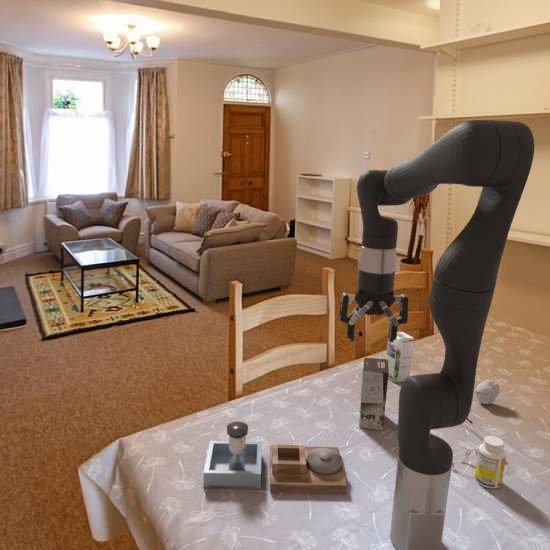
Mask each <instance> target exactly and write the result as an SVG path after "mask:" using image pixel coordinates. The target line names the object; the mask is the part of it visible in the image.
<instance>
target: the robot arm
mask: <svg viewBox="0 0 550 550" xmlns="http://www.w3.org/2000/svg"><path fill="white" fill-rule="evenodd" d="M534 155H535V138H534V134H533V131H532V130H531V128H530V127H529V125H527V124H525V123H524V122H521V121H513V120H497V119H496V120H495V119H494V120H493V119H468V120H465V121H463V122H461V123H459V124H457V125H455V126H454V127H453V128H451V129H450V130H448V131H447V132H446V133H444V134H443V135H442V136H441V137H440V138H439V139H437V140H435V142H433V143H432V144H431V145H430V146H428V147H426V148H425V149H424V150H422V151H421V152H419V153H418V154H416V155H414V156H412V157H409V158H407V159H404V160H401V161H399V162H397V163H395V164H394V165H392V166H391V167H390V168H389V169H385V170H384V169H367V170H365V171H364V172H362V173H361V175H359V178H358V179H357V183H356V192H357V199H358V202H359V208H360V214H361V219H362V235H361V249H360V253H359V260H358V277H357V285H356V286H357V288H356V292H355V294H354V293H352V294H351V293H348V292H345V291H343V292H342V293H341V297H340V298H341V299H340V305H339V313H338V317H339V320H340V322H341V323H345V324H346V337H347V339H349V342H355V331H356V330H355V328H356V326H355V323H356V322H357V321H358V320H359V319H361V318H362V317H363V316H364V315H366V316H372V315H376V316H382V315H384V314H385V315H386V316H387V318H388V320H389V321H390V322H389V324H388V334H387V335H388V337H387V341H388V340H389V342H394V340H396V338H397V332H398V327H399V326H400V325H402V324H405V325H406V324H407V323H408V320H409V319H408V318H409V297H408V296H407V295H406V294H405V293H400V294H399V295H397V294H395V293H394V292H395V291H394V290H395V279H396V270H397V269H396V268H397V266H396V265H397V244H398V233H399V232H398V230H399V224H398V221H397V220H396V219H394V218H391V217H389V216H383V215H381V214H380V211H379V206H382V207H383V206H384V207H386V206H393V207H395V206H401V205H405V204H407V203H409V201H411V200H412V199H415V198H419V197H423V196H425V195H428V194H430V193H432V192H433V191H434V190H435V189H437V187H438V186H439V185H461V186H466V187H474V188H478V187H480V188H481V187H482V188H481V192H480V195H479V198H478V202H477V204H476V206H475V207H476V208H475V209H474V212H473V214H472V216H471V218H470V219H469V221H468V222H467V223H466V224H465V226H464V227H463V228H462V230H461V231H460V232H459V233H458V234H457V236H455V238H454V239H453V240H452V241H451V243H450V244H449V245H448V246H447V247H446V249H445V250H444V251H443V253H442V254H441V256H440V258H439V259H438V261H437V263H436V265H435V267H434V268H435V269H434V272H433V278H432V282H431V288H430V293H429V297H428V298H429V299H428V303H429V305H428V306H429V311H430V314H431V317H432V319H433V320H434V321H433V322H434V324H435V327H436V328H437V329H438V330H437V331H439V334H440V336H441V338H442V341H443V344H444V348H445V349H444V350H445V351H444V358H443V359H444V360H443V365H442V368H441V370H440V372H436V373H435V372H434V373H425V374H416V375H410V376H409V377H407V378H406V379H405V380H404V381H403V382H401V383H402V384H401V385H400V389H399V395H398V396H399V397H398V412H397V413H398V417H397V419H398V420H397V441H398V442H397V443H398V444H397V445H398V454H397V462H396V463H397V464H396V473H395V481H394V493H393V499H392V500H393V502H392V509H391V510H392V512H391V521H390V522H391V523H390V531H389V538H390V541H391V544H392V545H393V547H395V549H396V550H441V548H442V541H443V536H444V528H445V527H444V526H445V519H446V512H447V505H448V497H449V489H450V483H451V482H450V481H451V476H452V475H451V474H452V468H453V467H452V466H453V463H452V462H453V460H454V451H452V450H453V449H452V447H451V445H450V444H449V443H448V442H447V441H446V440H444V439H443V438H441V437H440V436H438V435H435V434H432V433H431V430H437V429H445V428H452V427H453V428H454V427H457V426H460V425H462V424H463V423H465V422H466V421H467V418H468V417H469V415H470V413H471V410H472V405H473V398H474V394H475V383H476V376H477V367H478V359H479V355H480V350H481V345H482V341H483V336H484V332H485V326H486V322H487V319H488V316H489V313H490V312H489V311H490V308H491V305H492V301H493V297H494V294H495V289H496V285H497V280H498V273H499V270H500V266H501V261H502V258H503V256H504V255H503V254H504V250H505V248H506V244H507V240H508V236H509V232H510V229H511V227H512V223H513V221H514V218H515V215H516V212H517V209H518V206H519V204H520V202H521V198H522V196H523V193H524V190H525V187H526V184H527V181H528V178H529V176H530V173H531V169H532V165H533V161H534ZM353 301H355V302H356V304H357V305H356V306H355V307H354V308H353V310H352V312H351V313H350V314H349V315H347V314H348V308H349V305H351V304H352V302H353ZM395 302H396V304H397V305H398V306H399V311H398V312H399V314H398V315H399V316H395V315H394V313H393V312H392V311H391V309H390V308H391V307H392V305H393V304H394V303H395Z"/></svg>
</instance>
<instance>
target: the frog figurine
mask: <svg viewBox="0 0 550 550" xmlns="http://www.w3.org/2000/svg"><path fill="white" fill-rule="evenodd" d="M500 392H501V388H500V385H499V384H498V383H497V382H495V381H494V380H492V379H489V378H488V379H487V378H486V379H485V380H483V381H482V382H480V383H479V384H478V385H477V386H476V388H474V394H475V396H476V399H477V400H478V402H479V403H480V404H482V405H490V404H492V403H493V402H495V400H496V398H498V396H499V395H500Z"/></svg>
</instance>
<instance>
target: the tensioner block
mask: <svg viewBox="0 0 550 550" xmlns="http://www.w3.org/2000/svg"><path fill="white" fill-rule="evenodd" d="M347 488H348V483H347V481H346V476H345V471H344V466H343V457H342V455H341V453H340V449H339V446H305V445H304V444H271V445H270V446H269V493H287V494H288V493H292V494H294V493H295V494H297V493H298V494H340V495H346V494H347Z"/></svg>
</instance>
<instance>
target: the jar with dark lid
mask: <svg viewBox="0 0 550 550" xmlns="http://www.w3.org/2000/svg"><path fill="white" fill-rule="evenodd" d="M248 433H249V425H248V424H247V423H246V422H244V421H231V422H230V423H228V424H227V425H226V434H227V435H228V441H229V470H231V471H244V470H245V442H246V436H247V435H248Z"/></svg>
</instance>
